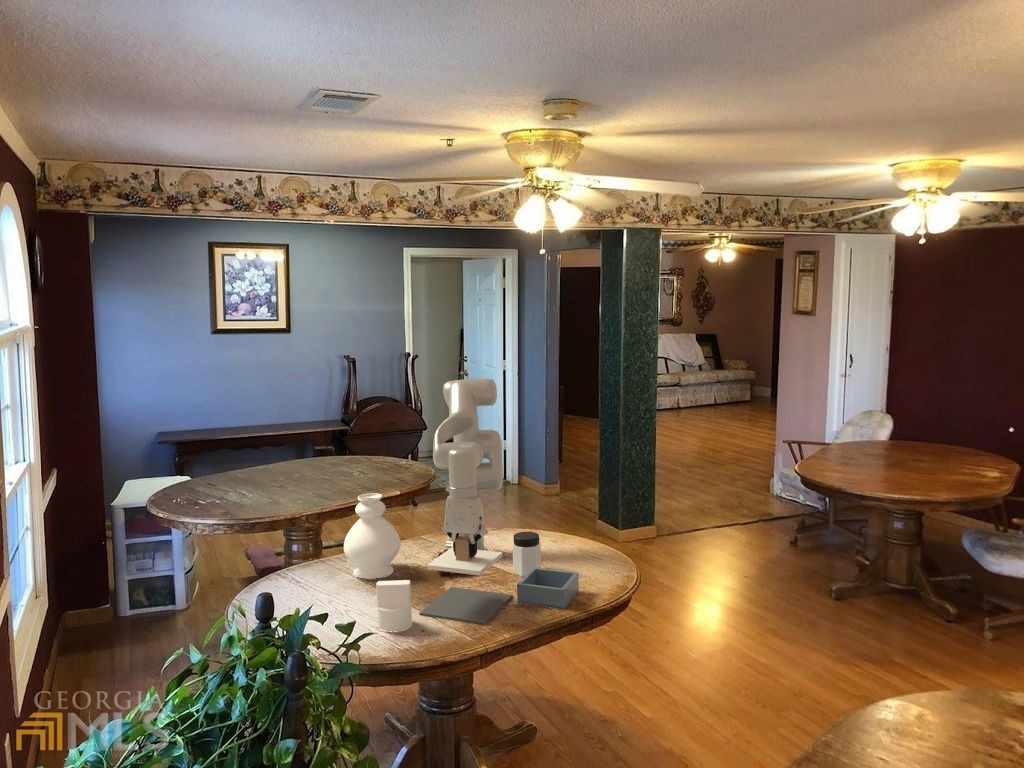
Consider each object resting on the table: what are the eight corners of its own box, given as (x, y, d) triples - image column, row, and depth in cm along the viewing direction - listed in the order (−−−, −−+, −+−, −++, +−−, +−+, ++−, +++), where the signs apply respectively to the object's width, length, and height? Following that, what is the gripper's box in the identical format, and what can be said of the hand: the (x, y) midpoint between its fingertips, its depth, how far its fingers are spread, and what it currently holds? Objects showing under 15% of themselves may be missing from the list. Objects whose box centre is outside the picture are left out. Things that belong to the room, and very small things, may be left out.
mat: (419, 615, 218) (419, 612, 218) (451, 588, 237) (450, 586, 237) (485, 624, 211) (485, 622, 211) (512, 596, 230) (512, 594, 229)
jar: (546, 572, 248) (545, 535, 247) (526, 579, 243) (525, 541, 242) (527, 565, 255) (527, 529, 254) (508, 571, 250) (507, 534, 248)
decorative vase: (407, 577, 248) (404, 499, 244) (350, 586, 241) (346, 506, 238) (394, 559, 264) (391, 486, 261) (340, 567, 258) (336, 493, 254)
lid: (427, 569, 218) (425, 543, 217) (452, 551, 232) (451, 527, 232) (479, 575, 212) (479, 549, 211) (502, 556, 226) (501, 532, 226)
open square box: (517, 604, 225) (516, 584, 224) (534, 586, 238) (533, 567, 237) (564, 610, 220) (563, 589, 219) (578, 592, 233) (578, 572, 232)
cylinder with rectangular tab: (413, 617, 217) (411, 575, 215) (410, 632, 208) (408, 588, 206) (380, 619, 217) (378, 577, 215) (376, 633, 208) (374, 589, 206)
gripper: (430, 493, 219) (432, 556, 222) (485, 497, 213) (487, 562, 215) (442, 486, 226) (444, 548, 228) (496, 490, 220) (497, 554, 222)
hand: (465, 554), depth 222 cm, fingers closed on lid, 4 cm apart
